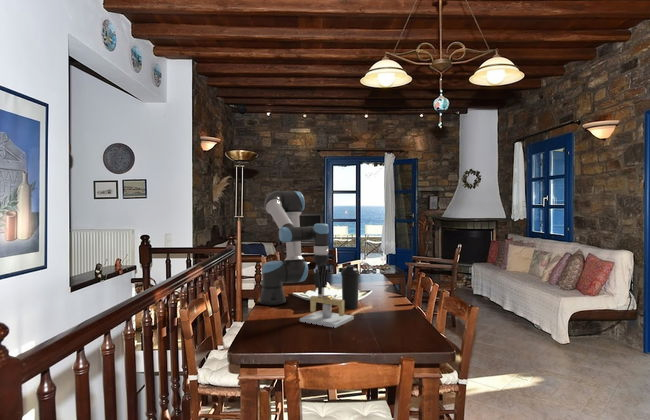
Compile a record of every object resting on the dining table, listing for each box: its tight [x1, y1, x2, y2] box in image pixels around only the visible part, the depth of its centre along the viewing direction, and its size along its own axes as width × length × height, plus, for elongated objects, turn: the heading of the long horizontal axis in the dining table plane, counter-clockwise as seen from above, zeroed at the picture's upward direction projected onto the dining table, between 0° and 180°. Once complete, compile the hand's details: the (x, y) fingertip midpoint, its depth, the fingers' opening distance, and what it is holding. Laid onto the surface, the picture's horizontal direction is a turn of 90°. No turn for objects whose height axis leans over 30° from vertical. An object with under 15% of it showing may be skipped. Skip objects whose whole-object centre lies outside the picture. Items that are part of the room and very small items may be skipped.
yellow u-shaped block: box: [309, 294, 345, 317], centre depth 216 cm, size 18×5×8 cm, turn 58°
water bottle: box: [340, 264, 360, 310], centre depth 243 cm, size 10×10×23 cm
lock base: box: [299, 303, 355, 329], centre depth 217 cm, size 20×18×8 cm
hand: (321, 300), depth 225 cm, fingers closed
